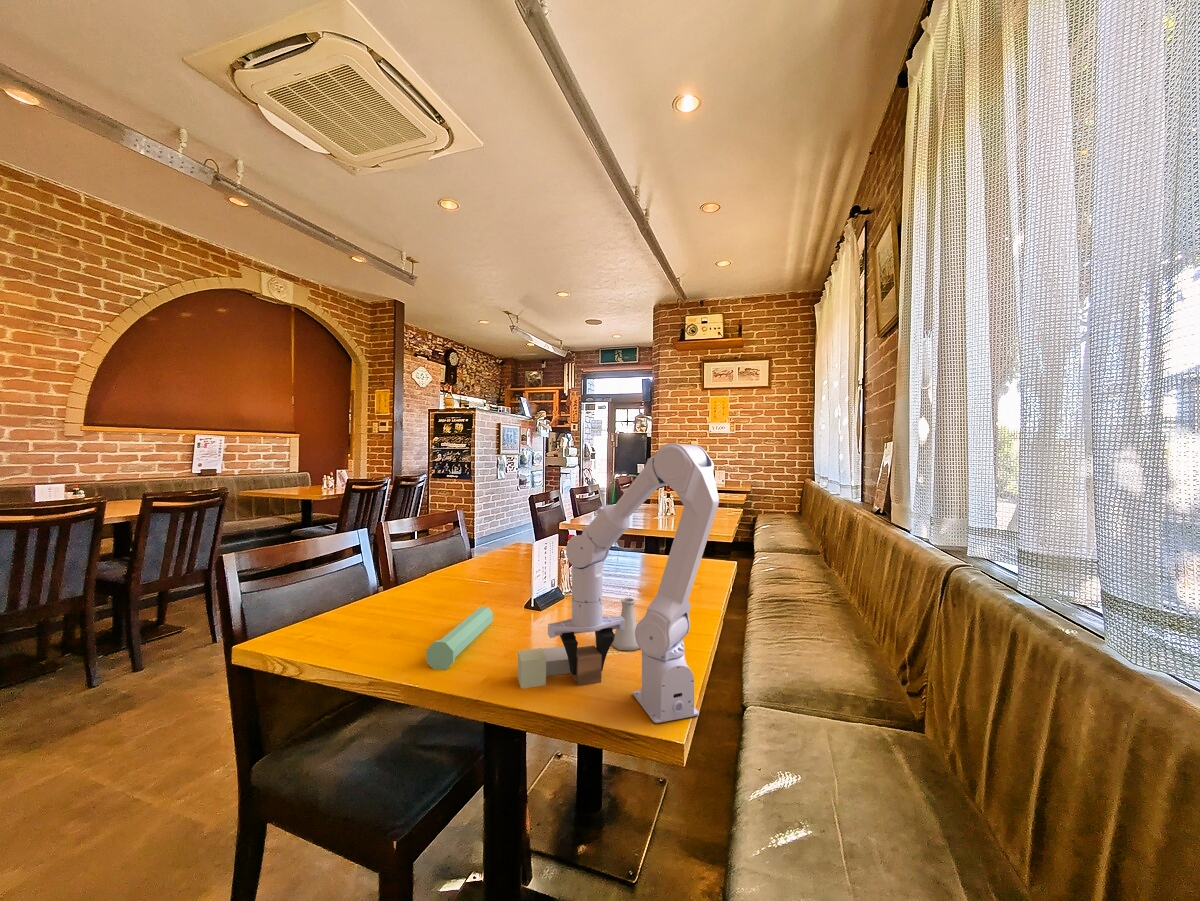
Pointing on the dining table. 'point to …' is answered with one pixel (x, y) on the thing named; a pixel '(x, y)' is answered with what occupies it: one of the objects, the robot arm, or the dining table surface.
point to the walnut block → (588, 665)
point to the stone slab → (556, 661)
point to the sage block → (531, 668)
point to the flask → (626, 627)
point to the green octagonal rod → (458, 639)
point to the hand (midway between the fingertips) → (586, 670)
